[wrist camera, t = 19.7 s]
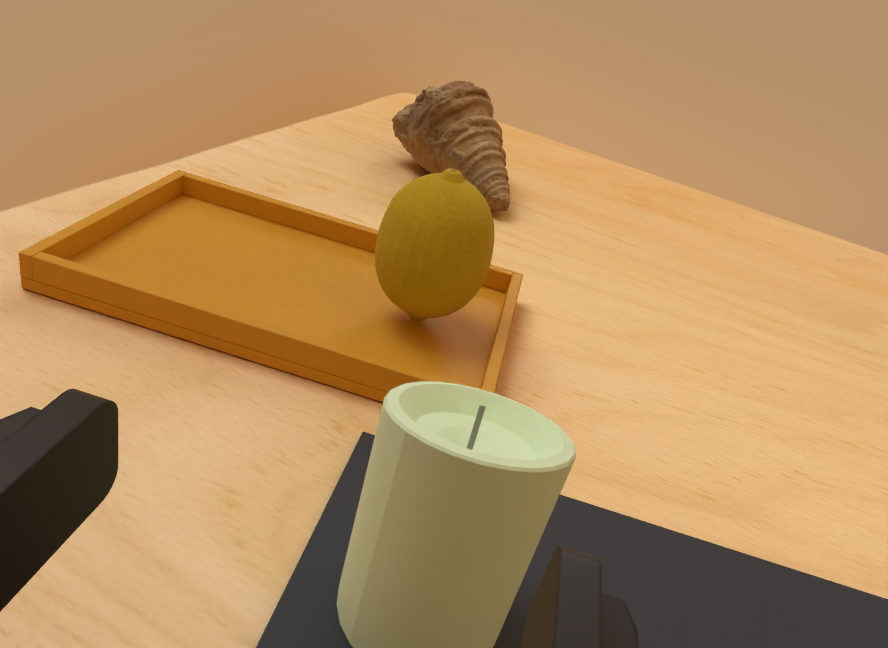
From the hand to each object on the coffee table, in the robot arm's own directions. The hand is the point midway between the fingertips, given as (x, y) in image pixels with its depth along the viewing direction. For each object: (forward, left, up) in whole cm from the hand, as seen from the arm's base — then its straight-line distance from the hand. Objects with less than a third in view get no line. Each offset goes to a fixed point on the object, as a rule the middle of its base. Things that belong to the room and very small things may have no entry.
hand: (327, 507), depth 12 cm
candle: (+2, +6, -9) cm, 11 cm away
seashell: (-5, +47, -9) cm, 48 cm away
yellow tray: (-8, +22, -9) cm, 25 cm away
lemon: (-2, +22, -9) cm, 24 cm away
